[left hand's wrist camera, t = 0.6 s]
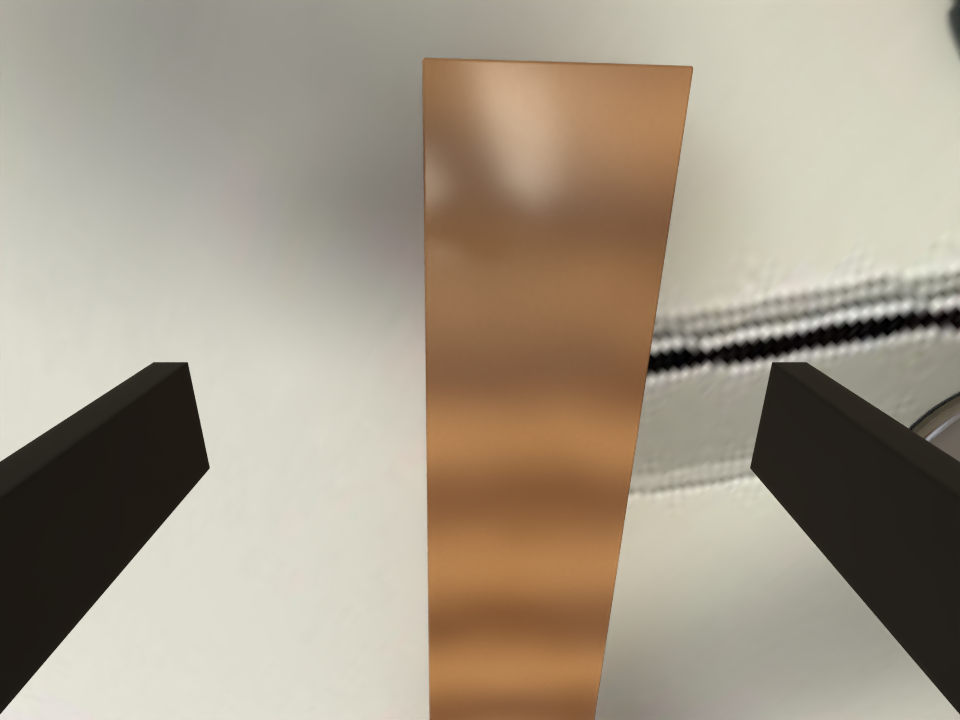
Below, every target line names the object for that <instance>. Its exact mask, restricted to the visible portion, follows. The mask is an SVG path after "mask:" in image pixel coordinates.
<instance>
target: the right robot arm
mask: <svg viewBox="0 0 960 720" xmlns="http://www.w3.org/2000/svg"><path fill="white" fill-rule="evenodd" d="M912 431H913V432H915V433H916V434H918V435H919V436H921V437H922V438H924V439H925V440H927V441H928V442H930V443H932V444H933V445H935V446H936V447H938V448H939V449H941V450H942V451H944V452H945V453H947V454H949V455H950V456H952V457H953V458H955V459H956V460H958V461H959V462H960V396H958V397H956V398H954V399H952V400H951V401H949V402H947V403H946V404H944V405H943V406H941V407H940V408H938V409H936V410H935V411H934V412H933V413H931V414H930V415H929V416H927V417H926V418H925V419H924V420H922V421H921V422H920V423H919V424H918V425H917V426H916V427H915V428H914V429H913V430H912Z"/></svg>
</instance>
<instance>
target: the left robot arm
mask: <svg viewBox="0 0 960 720" xmlns="http://www.w3.org/2000/svg"><path fill="white" fill-rule="evenodd" d="M209 468H210V467H209V462H208V457H207V453H206V448H205V443H204V438H203V433H202V429H201V424H200V419H199V414H198V409H197V405H196V400H195V395H194V390H193V385H192V381H191V376H190V371H189V366H188V362H153V363H152V364H150V365H149V366H147V367H146V368H144V369H143V370H141V371H140V372H138V373H136V374H135V375H133V376H132V377H130V378H129V379H127V380H126V381H124V382H123V383H121V384H119V385H118V386H116V387H115V388H113V389H112V390H110V391H109V392H107V393H106V394H104V395H103V396H101V397H99V398H98V399H96V400H95V401H93V402H92V403H90V404H89V405H87V406H86V407H84V408H82V409H81V410H79V411H78V412H76V413H75V414H73V415H72V416H70V417H69V418H67V419H65V420H64V421H62V422H61V423H59V424H58V425H56V426H55V427H53V428H52V429H50V430H49V431H47V432H45V433H44V434H42V435H41V436H39V437H38V438H36V439H35V440H33V441H32V442H30V443H28V444H27V445H25V446H24V447H22V448H21V449H19V450H18V451H16V452H15V453H13V454H11V455H10V456H8V457H7V458H5V459H4V460H2V461H1V462H0V714H1V713H2V711H3V710H4V709H5V708H6V707H7V706H8V704H9V703H10V702H11V701H12V700H13V699H14V697H15V696H16V695H17V694H18V693H19V692H20V690H21V689H22V688H23V687H24V686H25V684H26V683H27V682H28V681H29V680H30V679H31V677H32V676H33V675H34V674H35V673H36V672H37V670H38V669H39V668H40V667H41V666H42V665H43V663H44V662H45V661H46V660H47V659H48V657H49V656H50V655H51V654H52V653H53V652H54V650H55V649H56V648H57V647H58V646H59V645H60V643H61V642H62V641H63V640H64V639H65V638H66V636H67V635H68V634H69V633H70V632H71V630H72V629H73V628H74V627H75V626H76V625H77V623H78V622H79V621H80V620H81V619H82V618H83V616H84V615H85V614H86V613H87V612H88V611H89V609H90V608H91V607H92V606H93V605H94V603H95V602H96V601H97V600H98V599H99V598H100V596H101V595H102V594H103V593H104V592H105V591H106V589H107V588H108V587H109V586H110V585H111V584H112V582H113V581H114V580H115V579H116V578H117V576H118V575H119V574H120V573H121V572H122V571H123V569H124V568H125V567H126V566H127V565H128V564H129V562H130V561H131V560H132V559H133V558H134V556H135V555H136V554H137V553H138V552H139V551H140V549H141V548H142V547H143V546H144V545H145V544H146V542H147V541H148V540H149V539H150V538H151V537H152V535H153V534H154V533H155V532H156V531H157V529H158V528H159V527H160V526H161V525H162V524H163V522H164V521H165V520H166V519H167V518H168V517H169V515H170V514H171V513H172V512H173V511H174V510H175V508H176V507H177V506H178V505H179V504H180V502H181V501H182V500H183V499H184V498H185V497H186V495H187V494H188V493H189V492H190V491H191V490H192V488H193V487H194V486H195V485H196V484H197V483H198V481H199V480H200V479H201V478H202V477H203V475H204V474H205V473H206V472H207V471H208V470H209ZM750 468H751V470H752V471H753V472H754V473H755V474H756V475H757V477H758V478H759V479H760V480H761V481H762V483H763V484H764V485H765V486H766V487H767V488H768V490H769V491H770V492H771V493H772V494H773V495H774V497H775V498H776V499H777V500H778V501H779V502H780V504H781V505H782V506H783V507H784V508H785V510H786V511H787V512H788V513H789V514H790V515H791V517H792V518H793V519H794V520H795V521H796V522H797V524H798V525H799V526H800V527H801V528H802V529H803V531H804V532H805V533H806V534H807V535H808V537H809V538H810V539H811V540H812V541H813V542H814V544H815V545H816V546H817V547H818V548H819V549H820V551H821V552H822V553H823V554H824V555H825V556H826V558H827V559H828V560H829V561H830V562H831V564H832V565H833V566H834V567H835V568H836V569H837V571H838V572H839V573H840V574H841V575H842V576H843V578H844V579H845V580H846V581H847V582H848V584H849V585H850V586H851V587H852V588H853V589H854V591H855V592H856V593H857V594H858V595H859V596H860V598H861V599H862V600H863V601H864V602H865V603H866V605H867V606H868V607H869V608H870V609H871V611H872V612H873V613H874V614H875V615H876V616H877V618H878V619H879V620H880V621H881V622H882V623H883V625H884V626H885V627H886V628H887V629H888V630H889V632H890V633H891V634H892V635H893V636H894V638H895V639H896V640H897V641H898V642H899V643H900V645H901V646H902V647H903V648H904V649H905V650H906V652H907V653H908V654H909V655H910V656H911V657H912V659H913V660H914V661H915V662H916V663H917V665H918V666H919V667H920V668H921V669H922V670H923V672H924V673H925V674H926V675H927V676H928V677H929V679H930V680H931V681H932V682H933V683H934V684H935V686H936V687H937V688H938V689H939V690H940V692H941V693H942V694H943V695H944V696H945V697H946V699H947V700H948V701H949V702H950V703H951V704H952V706H953V707H954V708H955V709H956V710H957V711H958V713H959V714H960V462H959V461H958V460H956V459H955V458H953V457H952V456H950V455H949V454H947V453H945V452H944V451H942V450H941V449H939V448H938V447H936V446H935V445H933V444H932V443H930V442H928V441H927V440H925V439H924V438H922V437H921V436H919V435H918V434H916V433H915V432H913V431H911V430H910V429H908V428H907V427H905V426H904V425H902V424H901V423H899V422H898V421H896V420H895V419H893V418H891V417H890V416H888V415H887V414H885V413H884V412H882V411H881V410H879V409H878V408H876V407H874V406H873V405H871V404H870V403H868V402H867V401H865V400H864V399H862V398H861V397H859V396H857V395H856V394H854V393H853V392H851V391H850V390H848V389H847V388H845V387H844V386H842V385H841V384H839V383H837V382H836V381H834V380H833V379H831V378H830V377H828V376H827V375H825V374H824V373H822V372H820V371H819V370H817V369H816V368H814V367H813V366H811V365H810V364H808V363H807V362H772V366H771V371H770V376H769V381H768V385H767V390H766V395H765V400H764V405H763V409H762V414H761V419H760V424H759V429H758V433H757V438H756V443H755V448H754V453H753V457H752V462H751V467H750Z"/></svg>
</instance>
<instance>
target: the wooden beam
mask: <svg viewBox="0 0 960 720" xmlns="http://www.w3.org/2000/svg"><path fill="white" fill-rule="evenodd" d="M422 65H423V158H424V250H425V343H426V435H427V528H428V620H429V713H430V720H594V718H595V711H596V705H597V698H598V691H599V685H600V678H601V672H602V665H603V659H604V652H605V645H606V639H607V632H608V626H609V619H610V612H611V606H612V599H613V593H614V586H615V580H616V573H617V566H618V560H619V553H620V547H621V540H622V534H623V527H624V520H625V514H626V507H627V501H628V494H629V487H630V481H631V474H632V468H633V461H634V455H635V448H636V441H637V435H638V428H639V422H640V415H641V409H642V402H643V395H644V389H645V382H646V376H647V369H648V362H649V356H650V349H651V343H652V336H653V330H654V323H655V316H656V310H657V303H658V297H659V290H660V284H661V277H662V270H663V264H664V257H665V251H666V244H667V238H668V231H669V224H670V218H671V211H672V205H673V198H674V191H675V185H676V178H677V172H678V165H679V159H680V152H681V145H682V139H683V132H684V126H685V119H686V113H687V106H688V99H689V93H690V86H691V80H692V73H693V67H692V66H675V65H643V64H610V63H578V62H545V61H513V60H480V59H448V58H423V61H422Z"/></svg>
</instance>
